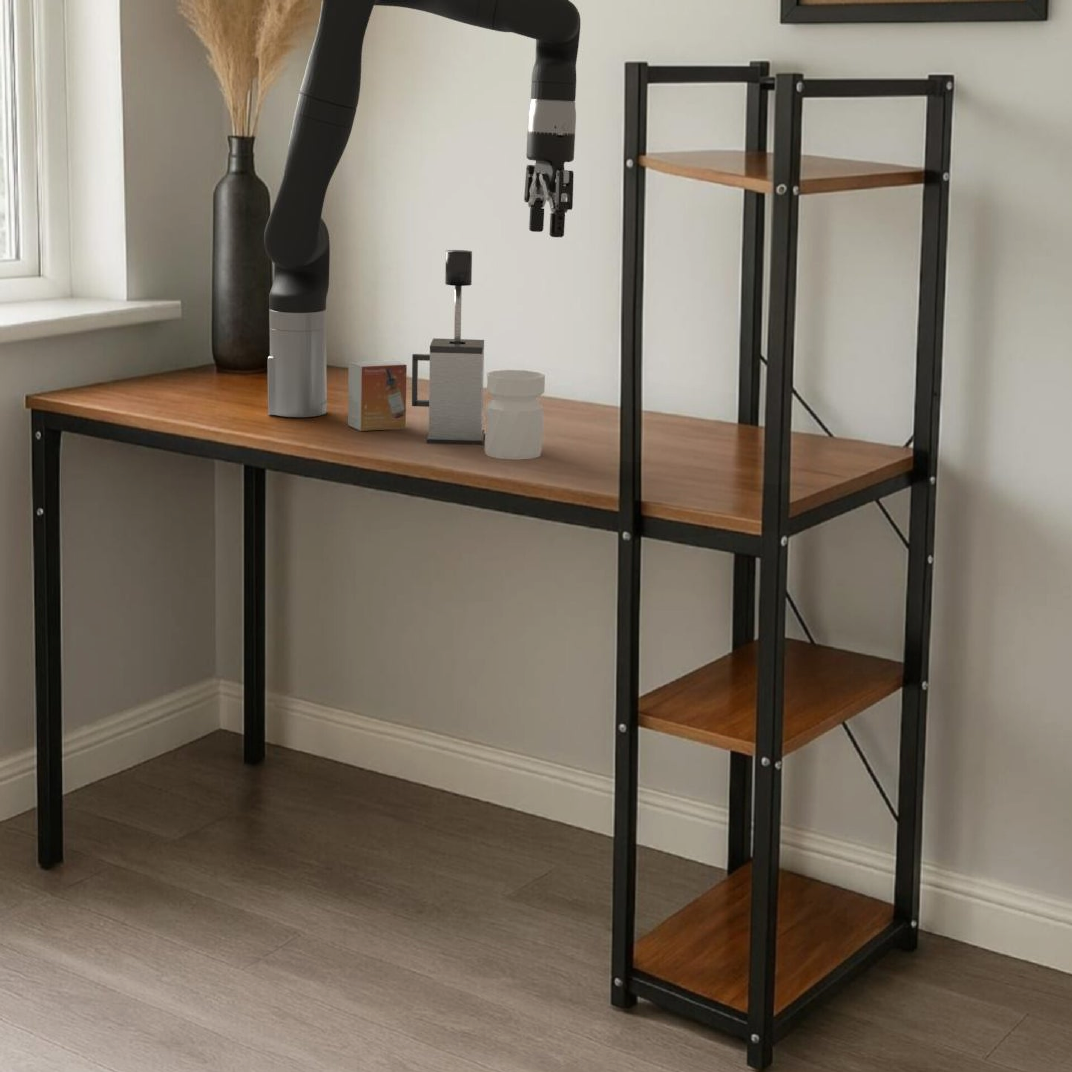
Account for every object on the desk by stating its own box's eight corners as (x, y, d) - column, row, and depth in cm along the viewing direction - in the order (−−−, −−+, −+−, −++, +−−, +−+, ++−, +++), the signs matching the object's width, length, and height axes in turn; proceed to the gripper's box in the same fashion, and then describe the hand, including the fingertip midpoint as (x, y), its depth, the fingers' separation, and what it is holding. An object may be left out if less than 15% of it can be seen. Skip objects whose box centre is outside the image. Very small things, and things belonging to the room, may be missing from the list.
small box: (360, 432, 265) (360, 366, 263) (347, 425, 270) (347, 360, 268) (407, 429, 269) (407, 363, 266) (393, 422, 274) (393, 358, 271)
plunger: (439, 390, 258) (440, 252, 253) (440, 384, 263) (442, 249, 258) (472, 391, 258) (475, 253, 253) (474, 385, 263) (476, 250, 258)
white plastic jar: (497, 461, 248) (499, 380, 245) (476, 449, 256) (477, 371, 252) (551, 457, 251) (554, 378, 248) (528, 446, 259) (530, 368, 256)
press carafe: (409, 442, 259) (410, 345, 255) (413, 431, 267) (414, 337, 263) (482, 444, 259) (484, 347, 255) (484, 433, 267) (486, 339, 263)
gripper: (512, 127, 269) (508, 229, 273) (546, 131, 256) (541, 238, 260) (555, 128, 272) (550, 230, 276) (591, 133, 259) (585, 239, 263)
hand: (546, 234), depth 268 cm, fingers open, 8 cm apart
